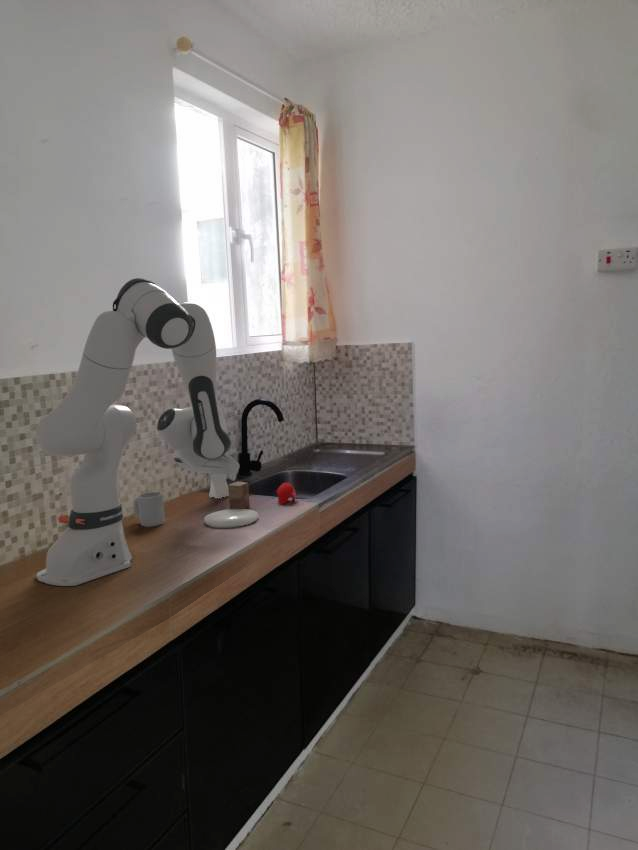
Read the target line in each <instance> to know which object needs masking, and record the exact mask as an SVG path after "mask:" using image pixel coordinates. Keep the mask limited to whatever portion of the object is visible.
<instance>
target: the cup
mask: <svg viewBox="0 0 638 850" xmlns="http://www.w3.org/2000/svg"><path fill="white" fill-rule="evenodd" d="M133 513H134V515H135V517H136V518H138V519H139V522H140V526H141V527H143V526H145V527H144V528H152V527H153V526H154V527H158V525H159V526H161V524H162V525H163V524H165V521H166V520H165V519H166V518H165V517H166V516H165V506H164V494H163V492H161V491H149V492H143V493H140V494H138V495H137V497H136V498H135V499H134V501H133Z"/></svg>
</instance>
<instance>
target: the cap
mask: <svg viewBox="0 0 638 850" xmlns="http://www.w3.org/2000/svg"><path fill="white" fill-rule="evenodd" d="M276 493H277V497H278V498H277V500H278V504H279V505H281V504H283V505H285V504H286V503H287V502H288V501H289V499H290V498H291V501H292V502H295V501H296V499H297V498H296V496H297V492H296V489H295V487H294V486H293V485H292V484H291V483H289V482H283V483H282V484H281V485H280V486H278V488H277V489H276Z"/></svg>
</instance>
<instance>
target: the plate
mask: <svg viewBox="0 0 638 850" xmlns="http://www.w3.org/2000/svg"><path fill="white" fill-rule="evenodd" d="M257 519H258V520H259V513H258V512H257V511H255V510H252V509H248V508H246V509H230V508H229V509H222V510H218V511H213V512H210V513H208V514H206V516H204V524H205V526H207V527H209V526H210V528H214V527H215V529H233V527H235V528H240V527H239V526H241V527H245V526H244V525H246V526H249V525H251V523H252V524H254V523H255V521H256V522H257V521H258V520H257ZM253 522H254V523H253ZM248 524H249V525H248Z"/></svg>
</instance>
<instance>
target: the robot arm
mask: <svg viewBox="0 0 638 850" xmlns="http://www.w3.org/2000/svg"><path fill="white" fill-rule="evenodd" d="M211 323H212V322H211V320H210V318H209V315H208V313H207V311H206V309H205V308H204V306H202V305H201V304H200V303H197V302H193V301H186V302H185V301H184V302H182V303H178V302H177V301H176V300H175V299H174V297H172V295H171V294H170V293H168V292H167V291H165V290H164V289H162V288H161V287H160V286H158V285H157V284H156V283H155V282H153V281H151V280H150V279H149V280H148V279H147V278H146V279H145V278H142V277H141V278H140V277H138V278H137V277H136V278H132V279H130V280H128V282H125V284H124V285H123V286H122V287H121V288H120V289H119V292H118V294H117V295H116V298H115V300H113V302H112V310H108V311H104V312H102V313H100V314H99V315H98V316H97V317H96V319H95V320H94V322H93V324H92V327H91V329H90V330H89V334H88V336H87V338H86V342H85V344H84V348H83V352H82V356H81V360H80V363H79V367H78V371H77V373H76V377H75V380H74V381H73V384H72V385H71V387H70V389H69V390H68V391H67V393H66V395H65V396H64V398H63V399H62V400H61V401H60V402H59V404H57V406H56V407H55V408H54V409H53V410H51V411H50V412H49V413H47V414H46V415H45V416H43V417H41V419H40V420H39V422H38V423H37V426H36V429H35V435H36V436H35V438H36V442H37V444H38V447H39V448H40V449H41V450H42V452H44V453H45V454H46V455H48V456H49V457H59V458H60V457H65V458H66V457H75V456H79V455H84V457H83V460H82V462H81V464H80V465H79V467H78V468H77V469H76V470H75V471H74V472H73V473H72V475H71V476H70V481H69V489H70V499H71V507H72V508H71V510H70V514H69V515H65V514H59V515H58V517H57V521H58V523H60V524H67V528H65V530H64V531H63V533H62V534H61V535H59V537H58V538H57V540H56V541H55V542H54V543H53V544H52V546H50V548H49V549H48V550H47V553H46V557H45V558H46V560H45V568H44V569H41V570H39V571H38V572H37V573H36V579H37V580H38V581H39V582H41V583H43V582H44V584H48V585H52V586H60V587H72V586H75V587H76V586H79V585H81V584H84V583H87V582H89V581H93V580H95V579H98V578H102V577H104V576H107V575H111V574H112V573H116V572H119V571H123V570H125V569H127V568H129V567H132V564H131V560H132V558H133V557H132V554H131V552H130V549H129V546H128V544H127V540H126V536H125V535H126V534H125V532H124V531H125V530H124V526H123V521H122V520H123V519H124V516H123V506H122V503H120V491H119V472H120V471H119V470H120V464H121V461H122V458H123V454H124V452H125V450H126V448H127V445H128V444H129V443H130V441H132V439H133V438H134V436H135V435H136V431H137V419H136V417H135V415H134V412H133V411H132V410H131V409H130V408H129V407H127V406H126V405H122V404H115V403H116V402H117V401H118V400H120V398H122V396H123V395H124V394H125V391H126V387H127V384H128V380H129V378H130V374H131V371H132V367H133V364H134V360H135V355H136V350H137V348H138V346H139V345H140V343H141V342H142V341H143V340H144V339H145V338H146V339H147V340H148V341H149V342H151V344H153V345H155V346H157V347H159V348H162V349H167V350H170V349H171V353H172V356H173V359H174V362H175V365H176V367H177V371H178V373H179V375H180V378H181V379H182V382H183V384H184V387H185V388H186V392H187V394H188V396H189V397H188V398H189V399H190V403H191V406H188V407H185V408H175V407H172V408H168V409H167V410H165V411H164V412H163V413H161V415H160V417H159V419H158V420H157V425H156V430H157V432H158V435H159V436H160V437H161V438H162V440H163V441H164V442H165V444H167V446H169V447H170V448H171V449H172V450H174V452H173V454H172V457H171V460H172V461H173V462H175V463H176V464H178V465H179V466H180V467H181V468H182V469H184V470H185V471H188V472H193V473H194V472H195V473H198V474H200V475H202V476H204V477H205V478H206V479H211V478H212V476H213V474H222V475H226V476H227V479H228V480H229V481H235V480H236V479H237V474H238V472H239V469H240V463H239V462H238V461H236V459H235V458H234V457H232V456H231V455H230V454H229V453H228V454H227V451H228V452H229V450H230V449H231V445H232V442H231V439H230V436H229V433H228V427H227V422H226V416H225V412H224V408H223V407H222V405H221V404H219V403H217V396H216V389H217V388H216V385H217V384H216V381H217V380H216V379H217V345H216V340H215V334H214V329H213V326H212V324H211ZM224 416H225V417H224Z"/></svg>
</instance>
